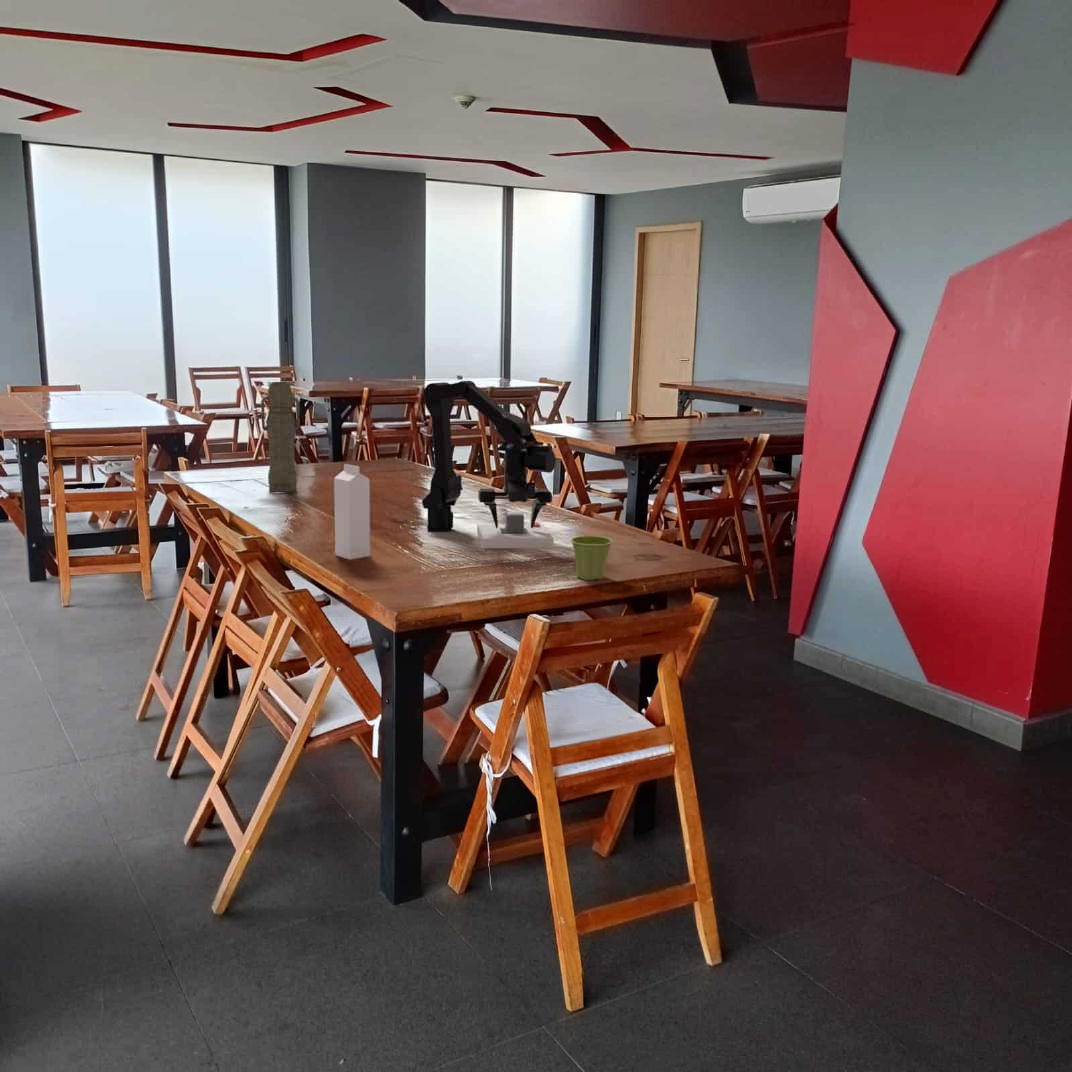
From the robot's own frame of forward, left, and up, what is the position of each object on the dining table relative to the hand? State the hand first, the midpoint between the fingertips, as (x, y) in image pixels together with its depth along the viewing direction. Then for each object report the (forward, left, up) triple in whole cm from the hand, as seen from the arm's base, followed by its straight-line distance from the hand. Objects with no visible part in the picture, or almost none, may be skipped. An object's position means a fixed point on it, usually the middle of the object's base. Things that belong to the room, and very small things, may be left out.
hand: (514, 528), depth 259 cm
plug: (0, 0, -3) cm, 3 cm away
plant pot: (+13, -38, -4) cm, 40 cm away
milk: (-41, -16, -4) cm, 44 cm away
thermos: (-67, +74, -4) cm, 100 cm away
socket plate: (0, 0, -3) cm, 3 cm away
